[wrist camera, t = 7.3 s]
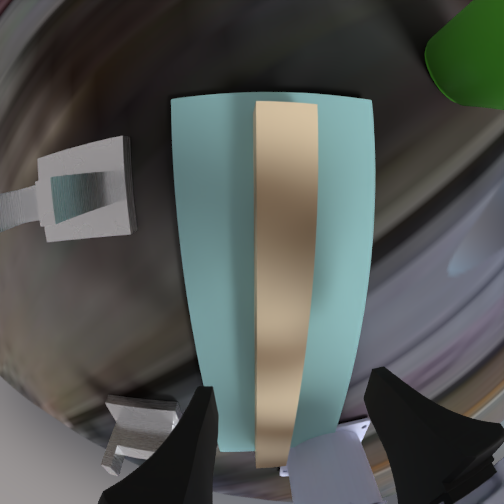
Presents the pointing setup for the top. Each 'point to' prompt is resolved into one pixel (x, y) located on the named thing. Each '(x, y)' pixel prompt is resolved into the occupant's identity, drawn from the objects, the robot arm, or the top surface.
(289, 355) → the rail
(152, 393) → the top surface
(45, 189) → the hook stand
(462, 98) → the cup
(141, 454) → the hook stand
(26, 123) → the top surface
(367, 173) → the mat
